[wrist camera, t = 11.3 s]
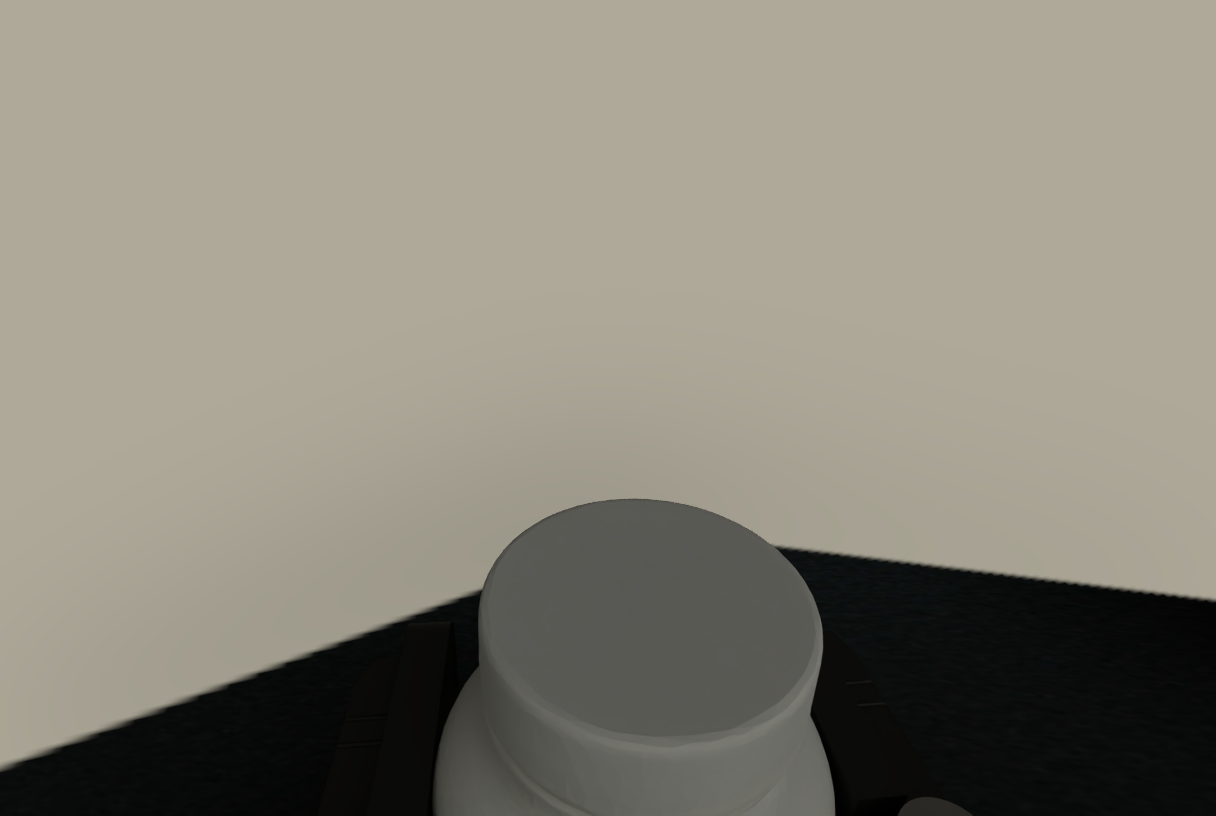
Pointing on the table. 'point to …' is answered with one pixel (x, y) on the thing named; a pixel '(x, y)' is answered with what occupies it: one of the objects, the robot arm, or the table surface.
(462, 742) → the supplement bottle
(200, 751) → the table surface
